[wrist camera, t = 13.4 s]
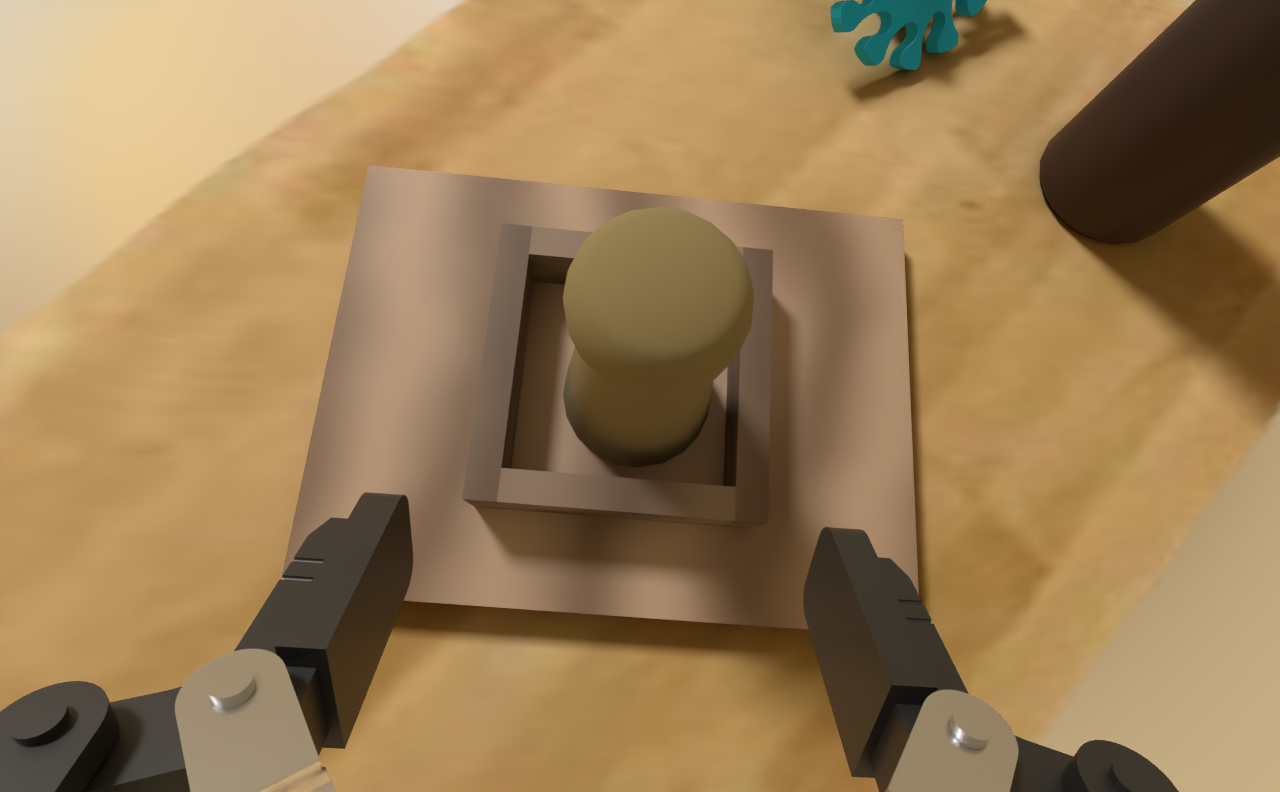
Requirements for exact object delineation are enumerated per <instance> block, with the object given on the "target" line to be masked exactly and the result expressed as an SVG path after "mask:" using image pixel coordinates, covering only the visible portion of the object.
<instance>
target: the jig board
mask: <svg viewBox="0 0 1280 792" xmlns="http://www.w3.org/2000/svg"><path fill="white" fill-rule="evenodd" d="M654 207H665V208H672V209H678V210H684V211H688V212H690V213H692V214H694V215H696V216H698V217H701V218H703V219H705V220H707V221H709V222H711V223H712V224H713V225H715V226H716V227H717V228H718V229H719V230H720V231H721V232H723V233H724V234H725V235H726V236H727V237H728V238H729V239H731V240H732V241H733V242H734V244H735V246H736V247H737V249H738V251H739V252H740V254H741V255H742V257H743V259H744V260H745V262H746V263H747V265H748V269H749V273H750V278H751V282H752V286H753V290H754V304H753V314H752V325H751V329H750V331H749V333H748V335H747V337H746V339H745V341H744V344H743V346H742V348H741V350H740V352H739V354H738V355H737V357H736V358H735V359H734V360H733V361H732V362H731V363H730V364H729V366H728V367H727V368H726V369H725V370H724V371H723V372H722V373H721V374H720V375H719V376H718V377H717V378H716V379H714V380H713V386H712V392H711V399H710V405H709V412H708V417H707V419H706V421H705V423H704V425H703V428H702V430H701V432H700V434H699V436H698V437H697V438H696V439H695V440H694V441H693V442H692V443H691V444H690V446H689V447H688V448H687V449H686V450H685V451H684V452H683V453H681V454H679V455H677V456H675V457H673V458H672V459H670V460H668V461H666V462H664V463H662V464H656V465H650V466H644V467H632V466H626V465H619V464H614V463H612V462H610V461H608V460H606V459H604V458H602V457H600V456H598V455H596V454H594V453H593V452H592V451H591V450H590V449H589V448H588V447H587V446H586V445H585V444H584V443H583V442H582V441H581V440H579V439H578V438H577V436H576V434H575V432H574V430H573V428H572V427H571V425H570V423H569V421H568V419H567V417H566V411H565V405H564V398H563V391H564V385H565V379H566V374H567V370H568V367H569V364H570V360H571V357H572V354H573V351H574V348H575V345H574V344H573V342H572V340H571V338H570V336H569V334H568V328H567V322H566V316H565V310H564V303H563V294H564V288H565V283H566V277H567V272H568V269H569V267H570V265H571V263H572V261H573V260H574V258H575V256H576V255H577V253H578V251H579V249H580V248H581V246H582V244H583V242H584V241H585V239H586V238H587V237H589V236H590V235H591V234H592V233H593V232H594V231H595V230H596V229H598V228H599V227H600V226H601V225H602V224H603V223H604V222H606V221H608V220H610V219H613V218H615V217H617V216H619V215H622V214H624V213H626V212H628V211H631V210H638V209H646V208H654ZM365 492H371V493H384V494H398V495H406V496H407V498H408V502H409V512H410V523H411V535H412V546H413V570H412V576H411V581H410V585H409V588H408V591H407V593H406V596H405V598H404V601H415V602H429V603H443V604H457V605H471V606H485V607H499V608H513V609H527V610H541V611H555V612H569V613H583V614H597V615H611V616H625V617H638V618H652V619H666V620H680V621H694V622H708V623H722V624H736V625H750V626H764V627H778V628H792V629H806V630H809V628H808V625H807V622H806V618H805V614H804V607H803V592H804V585H805V581H806V578H807V574H808V571H809V568H810V564H811V561H812V558H813V555H814V551H815V548H816V545H817V541H818V538H819V535H820V532H821V530H822V529H823V528H824V527H833V528H847V529H860V530H864V531H865V532H866V533H867V535H868V537H869V539H870V541H871V544H872V546H873V548H874V550H875V552H876V554H877V557H881V558H891V559H892V560H893V561H894V562H895V563H896V564H897V565H898V566H899V567H900V568H901V569H902V570H903V571H904V572H905V573H906V574H907V575H908V576H909V577H910V579H911V581H912V582H913V584H914V586H915V588H916V590H917V592H918V594H919V588H918V564H917V541H916V517H915V494H914V470H913V447H912V423H911V399H910V376H909V352H908V329H907V305H906V282H905V258H904V234H903V219H894V218H884V217H874V216H864V215H854V214H845V213H835V212H825V211H815V210H805V209H795V208H785V207H776V206H766V205H756V204H746V203H736V202H726V201H716V200H707V199H697V198H687V197H677V196H667V195H657V194H647V193H638V192H628V191H618V190H608V189H598V188H588V187H578V186H569V185H559V184H549V183H539V182H529V181H519V180H509V179H500V178H490V177H480V176H470V175H460V174H450V173H440V172H430V171H421V170H411V169H401V168H391V167H381V166H371V165H369V167H368V172H367V176H366V181H365V186H364V190H363V195H362V200H361V205H360V209H359V214H358V219H357V224H356V228H355V233H354V238H353V242H352V247H351V252H350V257H349V261H348V266H347V271H346V275H345V280H344V285H343V290H342V294H341V299H340V304H339V309H338V313H337V318H336V323H335V327H334V332H333V337H332V342H331V346H330V351H329V356H328V361H327V365H326V370H325V375H324V379H323V384H322V389H321V394H320V398H319V403H318V408H317V412H316V417H315V422H314V427H313V431H312V436H311V441H310V446H309V450H308V455H307V460H306V464H305V469H304V474H303V479H302V483H301V488H300V493H299V498H298V502H297V507H296V512H295V516H294V521H293V526H292V531H291V535H290V540H289V545H288V550H287V554H286V559H285V564H284V568H283V573H282V577H283V574H284V572H285V571H286V569H287V567H288V566H289V564H290V563H291V562H293V561H294V556H295V555H296V553H297V552H298V550H299V549H300V547H301V545H302V544H303V542H304V541H305V539H306V538H307V536H308V535H309V534H310V533H312V532H313V531H314V530H316V529H317V528H318V527H319V526H321V525H322V524H323V523H325V522H326V521H327V520H329V519H330V518H331V517H333V518H347V519H348V517H349V516H350V514H351V512H352V511H353V509H354V507H355V505H356V504H357V502H358V500H359V498H360V497H361V495H362V494H363V493H365ZM281 580H282V578H281Z"/></svg>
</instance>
